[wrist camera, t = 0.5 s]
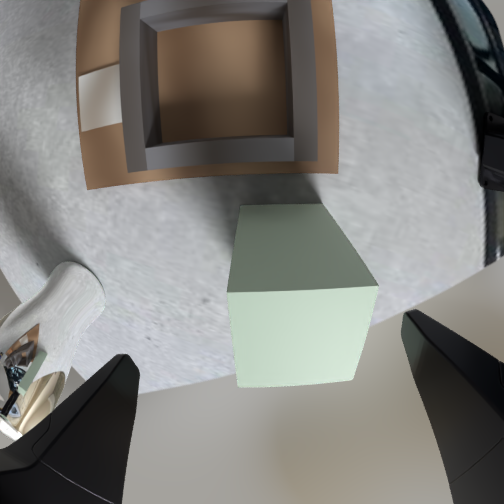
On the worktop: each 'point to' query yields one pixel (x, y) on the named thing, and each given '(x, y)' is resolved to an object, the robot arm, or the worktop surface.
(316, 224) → the sage peg
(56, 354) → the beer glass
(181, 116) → the socket board
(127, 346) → the worktop surface
